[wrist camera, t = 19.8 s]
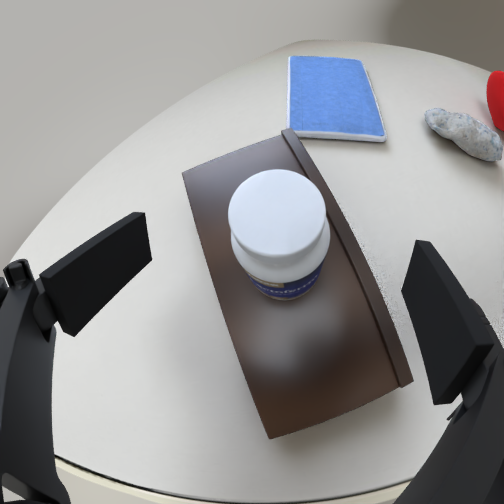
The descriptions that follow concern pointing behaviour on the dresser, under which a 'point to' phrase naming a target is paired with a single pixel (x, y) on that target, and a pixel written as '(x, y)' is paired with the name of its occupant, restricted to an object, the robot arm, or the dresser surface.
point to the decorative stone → (466, 133)
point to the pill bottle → (279, 232)
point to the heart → (496, 98)
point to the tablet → (332, 100)
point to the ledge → (297, 304)
